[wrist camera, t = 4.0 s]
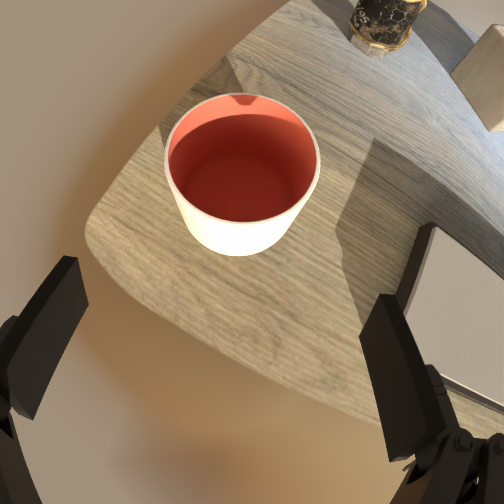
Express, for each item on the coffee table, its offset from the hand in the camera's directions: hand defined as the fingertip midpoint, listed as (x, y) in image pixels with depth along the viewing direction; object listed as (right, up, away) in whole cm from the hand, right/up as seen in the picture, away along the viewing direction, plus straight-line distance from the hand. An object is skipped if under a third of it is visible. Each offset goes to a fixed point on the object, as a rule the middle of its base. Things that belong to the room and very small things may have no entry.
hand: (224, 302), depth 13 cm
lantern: (+18, +32, +23) cm, 44 cm away
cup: (0, +6, +16) cm, 17 cm away
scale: (+33, -11, +15) cm, 37 cm away
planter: (+39, +24, +23) cm, 51 cm away
